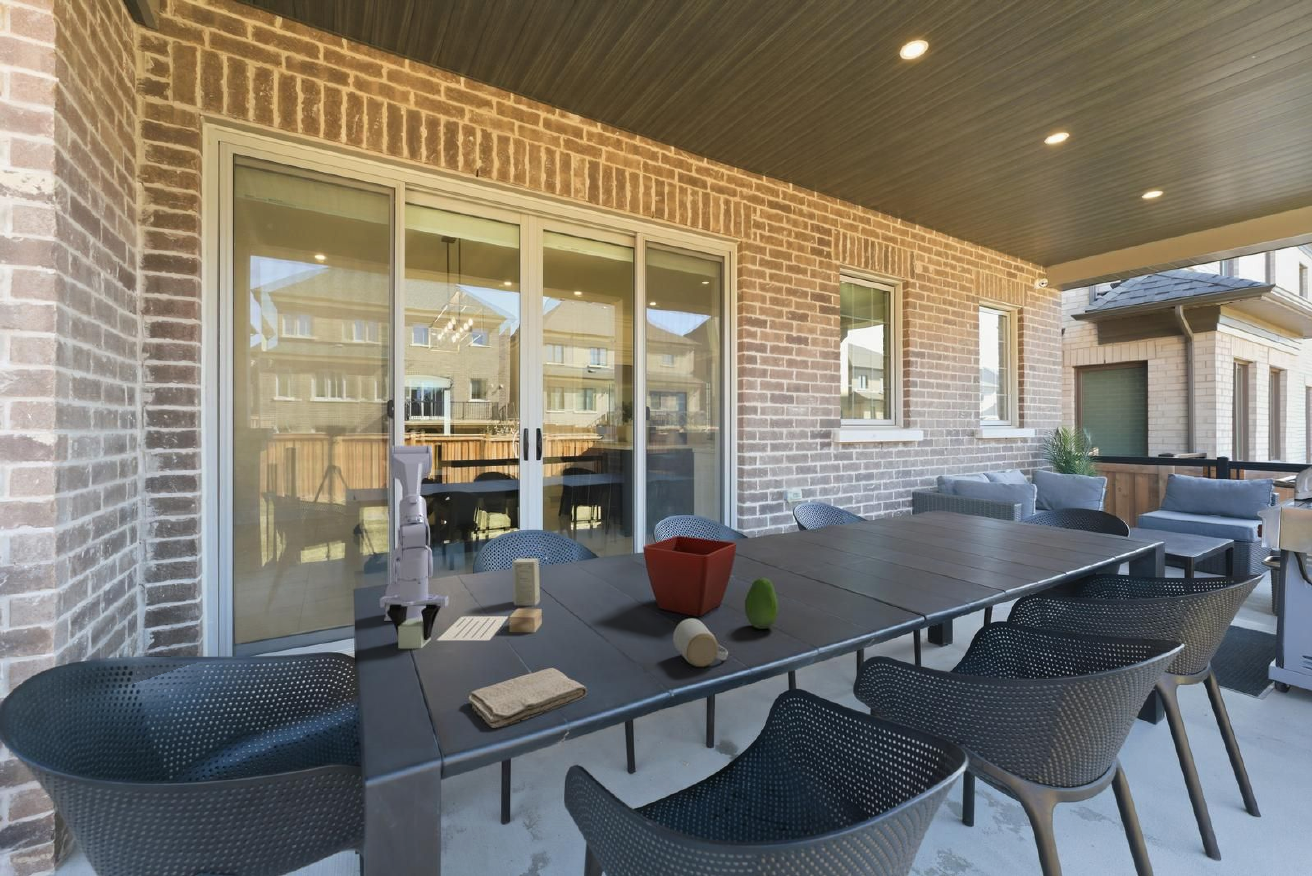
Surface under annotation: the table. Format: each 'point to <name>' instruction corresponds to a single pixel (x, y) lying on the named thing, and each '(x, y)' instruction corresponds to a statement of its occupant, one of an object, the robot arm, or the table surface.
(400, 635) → the sage cube
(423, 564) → the robot arm
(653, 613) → the table surface
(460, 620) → the letter
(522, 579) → the skincare box
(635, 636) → the table surface
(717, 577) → the plant pot
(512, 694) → the washcloth
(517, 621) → the oak block
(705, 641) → the ceramic mug
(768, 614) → the fruit
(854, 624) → the table surface
